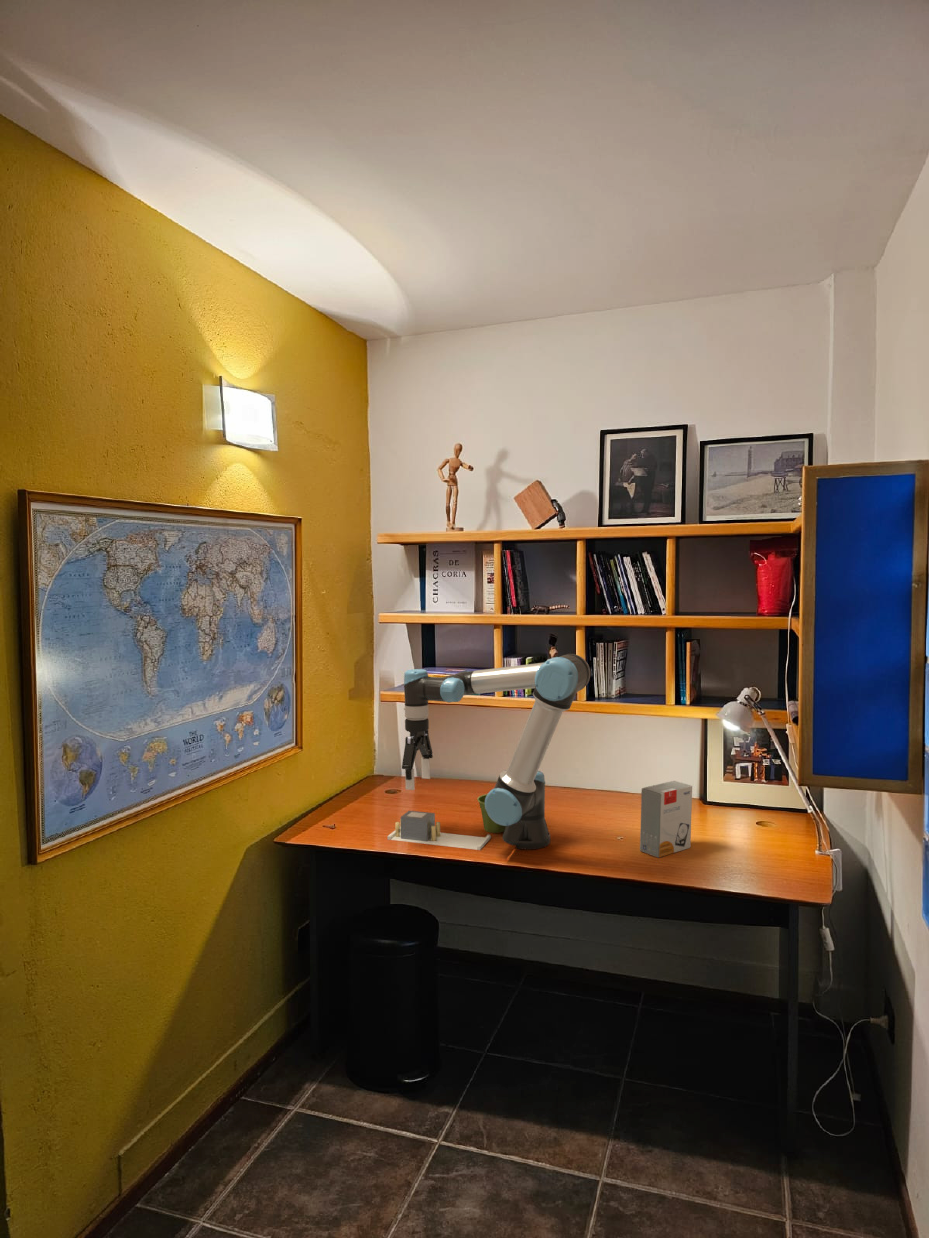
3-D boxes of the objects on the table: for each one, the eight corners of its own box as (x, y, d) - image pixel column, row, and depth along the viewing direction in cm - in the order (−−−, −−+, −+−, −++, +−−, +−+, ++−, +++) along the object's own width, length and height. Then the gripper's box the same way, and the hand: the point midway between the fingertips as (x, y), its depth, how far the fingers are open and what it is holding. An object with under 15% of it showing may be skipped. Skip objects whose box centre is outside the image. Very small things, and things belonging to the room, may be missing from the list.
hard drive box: (658, 858, 239) (659, 793, 238) (639, 851, 246) (639, 787, 244) (691, 847, 248) (692, 784, 247) (672, 840, 255) (673, 779, 253)
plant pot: (470, 831, 265) (470, 798, 264) (496, 823, 272) (496, 791, 271) (494, 840, 256) (494, 806, 255) (520, 832, 263) (520, 799, 262)
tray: (490, 841, 255) (490, 824, 255) (480, 853, 245) (480, 835, 244) (401, 831, 265) (400, 814, 265) (387, 842, 255) (387, 825, 254)
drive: (434, 834, 259) (434, 812, 258) (427, 841, 252) (426, 819, 252) (409, 831, 262) (408, 810, 261) (400, 838, 255) (400, 816, 255)
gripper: (420, 710, 267) (421, 773, 269) (389, 725, 244) (391, 793, 245) (441, 711, 265) (442, 774, 266) (412, 726, 241) (414, 795, 243)
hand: (418, 783), depth 256 cm, fingers open, 13 cm apart
